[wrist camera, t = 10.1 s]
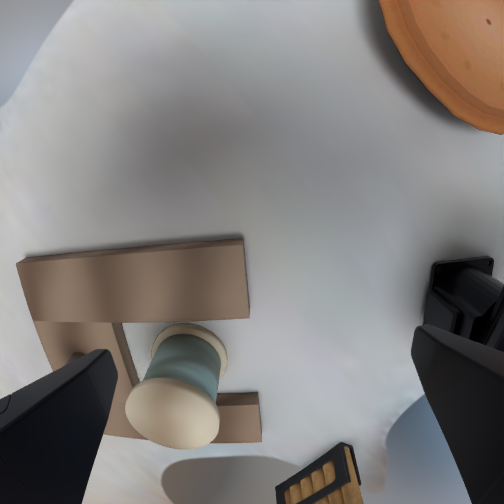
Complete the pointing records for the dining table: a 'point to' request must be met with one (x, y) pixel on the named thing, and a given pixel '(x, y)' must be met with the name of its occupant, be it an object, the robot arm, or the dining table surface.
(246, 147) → the dining table surface
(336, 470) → the ammunition clip
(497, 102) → the pie
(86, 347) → the walnut notched board
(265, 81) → the dining table surface
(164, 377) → the thread spool
